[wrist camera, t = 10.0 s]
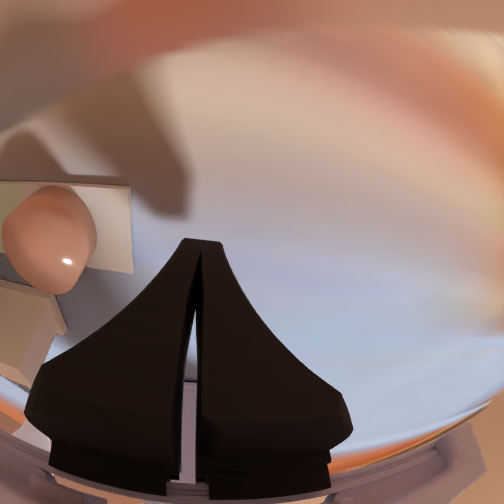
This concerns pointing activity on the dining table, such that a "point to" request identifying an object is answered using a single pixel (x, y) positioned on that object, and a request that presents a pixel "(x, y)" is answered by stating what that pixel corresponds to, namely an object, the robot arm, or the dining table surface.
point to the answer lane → (103, 214)
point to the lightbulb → (32, 436)
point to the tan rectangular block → (26, 330)
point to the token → (50, 239)
